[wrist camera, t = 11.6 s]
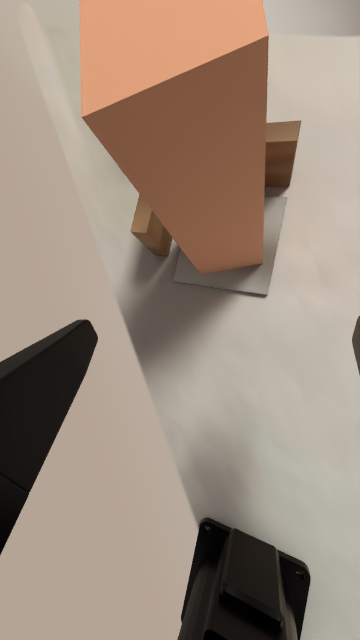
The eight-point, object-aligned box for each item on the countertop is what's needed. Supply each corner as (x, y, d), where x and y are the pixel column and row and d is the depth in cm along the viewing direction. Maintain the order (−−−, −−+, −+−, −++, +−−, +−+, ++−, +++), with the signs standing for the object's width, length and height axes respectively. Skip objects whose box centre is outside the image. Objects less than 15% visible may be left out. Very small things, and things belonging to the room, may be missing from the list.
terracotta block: (262, 263, 17) (268, 35, 5) (200, 274, 18) (81, 117, 6) (254, 205, 18) (241, -122, 6) (195, 220, 19) (79, -19, 7)
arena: (267, 295, 17) (269, 278, 13) (149, 278, 20) (123, 260, 16) (292, 170, 18) (301, 120, 14) (174, 172, 21) (154, 131, 17)
